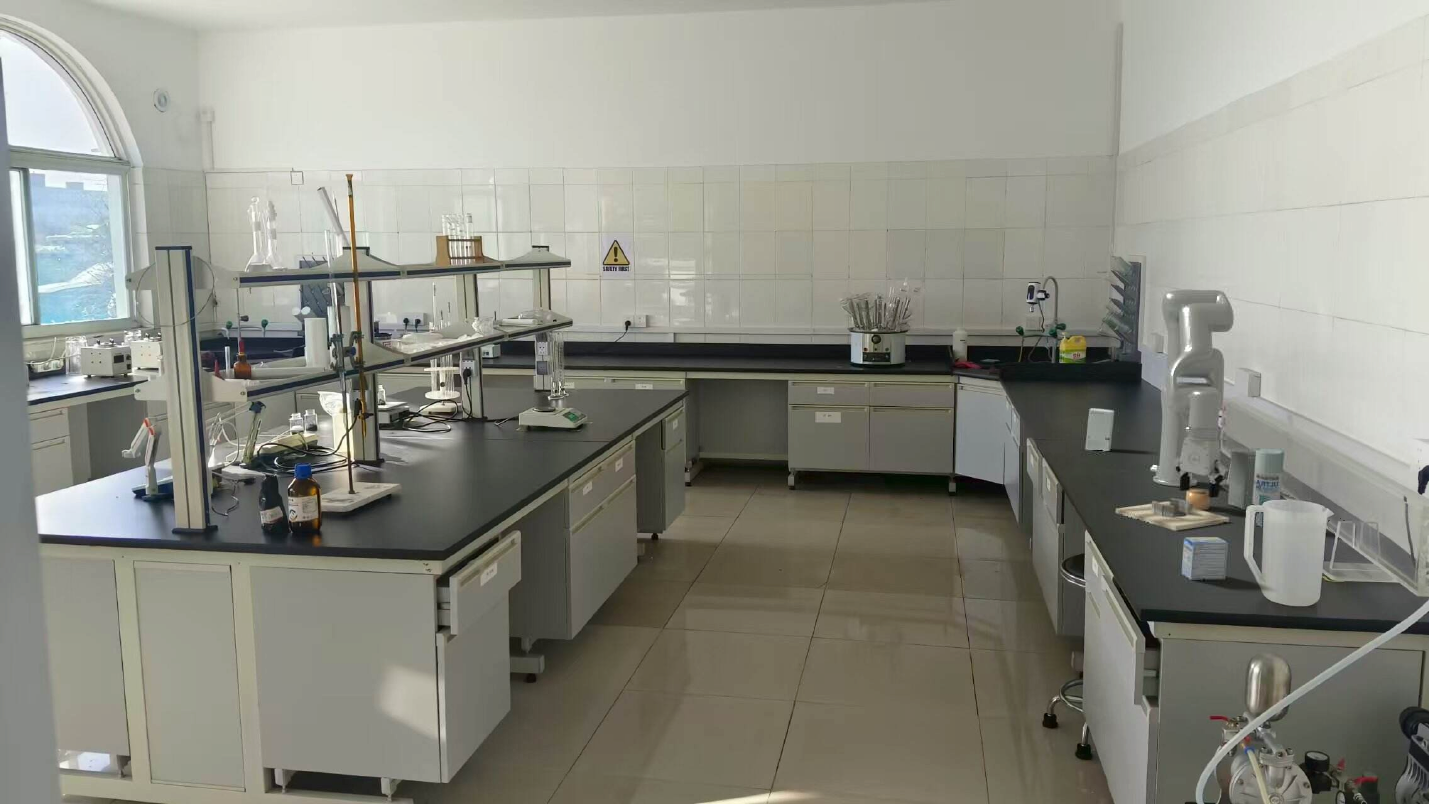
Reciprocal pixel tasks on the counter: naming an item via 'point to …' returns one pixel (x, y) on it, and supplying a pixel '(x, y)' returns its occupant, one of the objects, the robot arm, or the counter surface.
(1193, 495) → the tan round jar
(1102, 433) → the skincare box
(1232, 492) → the skincare box
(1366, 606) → the counter surface
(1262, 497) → the spray paint can
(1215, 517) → the barrel mount
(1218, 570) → the medicine box
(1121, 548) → the counter surface
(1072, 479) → the counter surface
